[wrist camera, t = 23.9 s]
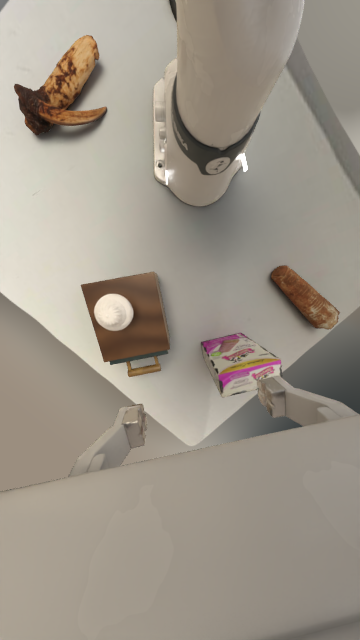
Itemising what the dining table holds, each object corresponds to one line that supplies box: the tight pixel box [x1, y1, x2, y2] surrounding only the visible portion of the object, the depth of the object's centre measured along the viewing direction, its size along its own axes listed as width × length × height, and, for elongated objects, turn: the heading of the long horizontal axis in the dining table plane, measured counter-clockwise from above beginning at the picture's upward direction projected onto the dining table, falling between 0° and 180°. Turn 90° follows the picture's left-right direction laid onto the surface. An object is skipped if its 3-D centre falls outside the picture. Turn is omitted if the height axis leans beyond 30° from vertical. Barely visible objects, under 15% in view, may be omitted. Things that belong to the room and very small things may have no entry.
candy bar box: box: [201, 333, 282, 397], centre depth 37 cm, size 11×5×16 cm, turn 103°
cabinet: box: [81, 272, 170, 362], centre depth 36 cm, size 15×13×10 cm
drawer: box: [109, 350, 168, 377], centre depth 37 cm, size 18×12×8 cm, turn 10°
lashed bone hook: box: [14, 35, 107, 135], centre depth 30 cm, size 9×5×18 cm
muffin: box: [94, 294, 133, 331], centre depth 28 cm, size 6×6×7 cm
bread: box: [271, 266, 340, 329], centre depth 40 cm, size 6×19×6 cm, turn 47°
